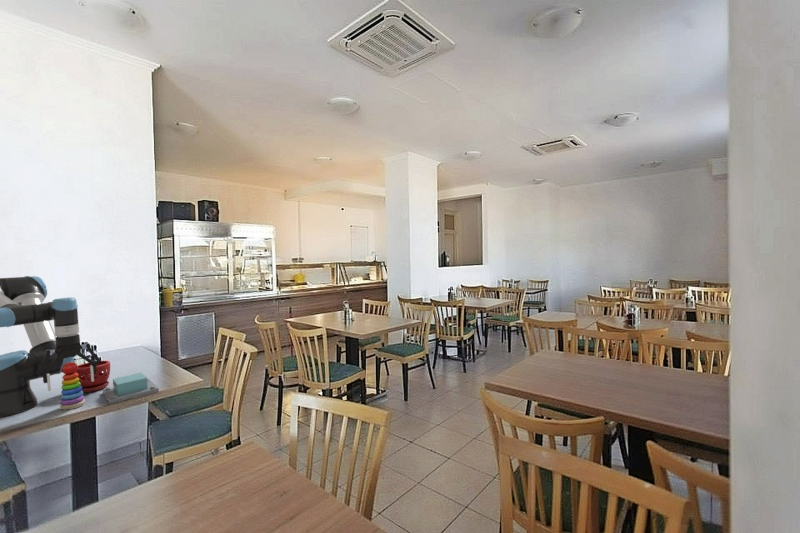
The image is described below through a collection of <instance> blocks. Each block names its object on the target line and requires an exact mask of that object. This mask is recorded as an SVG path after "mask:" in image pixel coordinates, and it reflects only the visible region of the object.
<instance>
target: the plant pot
mask: <svg viewBox="0 0 800 533" xmlns="http://www.w3.org/2000/svg"><path fill="white" fill-rule="evenodd" d="M90 365H92V364H90V363H89V362H85V363H81V364H77V366H78V369H77V371H76V372H75V373H78V378H79V381H78V382H80V383H81V385H80V386H81V387H82V391H83V393H89V392H90V393H91V392H92V393H93V392H96V391H99V390H104V389H106V388H107V387H109V384H110V382H109V378H110V374H111V361H109V360H101V363H99V364H97V365H96V369H97V372H96V373H94V381H93V382H92V381H91V373H90Z"/></svg>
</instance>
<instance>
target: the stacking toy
mask: <svg viewBox="0 0 800 533" xmlns="http://www.w3.org/2000/svg"><path fill="white" fill-rule="evenodd" d="M77 369H78V364H77V363H76V362H74V361H73V362H68V363H66V364H64V365H63V366H62V373H63V376H62V381H61V385H62V386H61V392H60V393H61V395H60V399H61V400H60V401H59V403H60V404H61V405H60V406H59V408H60V410H62V409H63V410H64V411H68V410H67V409H69V410H73V408H74V409H77V408H80V407H82V406H83V405H85V403H86V400H85V396H84V392H83V391H82V387H81V386H80V385H81V383H80V382H78V381H79V378H78V373H75V372H76V371H77Z"/></svg>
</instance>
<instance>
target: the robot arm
mask: <svg viewBox="0 0 800 533" xmlns="http://www.w3.org/2000/svg"><path fill="white" fill-rule="evenodd" d="M47 296H48V289H47V285H46V283H45V281H44V280H43V279H42V278H41V277H39V276H30V275H28V276H27V275H26V276H19V277H18V276H16V277H15V276H14V277H0V328H11V327H14V326H21V325H23V327H24V330H25V332H26V335H27V337H28V340H29V343H30V345H31V348H30V349H29V351H27V350H23V349H22V350H17V351H10V352H6V353H3V354H0V418H2V416H3V417H7V415H8V416H12V415H16V414H19V413H23V412H25V411H28V410H31V409H33V408H34V407H36V406H37V405H38V399H37V398H38V397H37V396H36V395H35V393H34V391H33V390H32V388H31V383H30V382H31V381H33V380H38V379H42V382H43V383H44V384H47V391H48V392H52V388H51V378H50V376H53V375H54V376H55V375H60V374H62V373H63V372H62V366H63V365H64V364H66V363H68V362H74V361H75V360H74V359H75V357H76V356H78V357H80V359H83V360H84V361H85V362H86V363H90V364H92V365H90V373H91V381H92V382H93V381H94V373H96V372H97V369H96V365H97V364H99V363H101V361H102V360H101V358H100V357H98V355H97V353H95V352H94V350H93V349H92V348H91V344H90V343H89V342H86V343H85V344H81V336H80V334H79V333H80V326H79V314H78V313H79V312H78V303H77V299H76V297H60V298H55V299H53V300H52V301H48V302H46V303H45V302H44V301H45V299H46V298H47ZM43 302H44V303H43ZM51 321H53V324H54V326H52V323H51ZM53 327H54V328H53ZM82 348H83V349H84V350H87V351H88V353H90V355H91V356H92V357H93V359H94V360H95V361H94V360H92V359H91V358H90V357H88V356H86V355H85V354H83V353H82V352H80V351H81V350H82Z"/></svg>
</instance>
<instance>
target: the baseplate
mask: <svg viewBox="0 0 800 533" xmlns="http://www.w3.org/2000/svg"><path fill="white" fill-rule="evenodd" d="M112 386H113V387H111V386H107V387H105V388H104V389H102V393H103V395H104V397H105V399H106V401H107V402H108V404H109V405H110V404H115V403H119V402H122V401H126V400H131V399H134V398H139V397H142V396H147V395H150V394H154V393H159V391H160V388H159V387H157V385H156V384H155V383H154V382H153V381H152V380H150V378H148V377H147V376H146V375H145V374H144V373H143V372H139V373H133V374H129V375H125V376H120V377H115V378H113V379H112Z"/></svg>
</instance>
